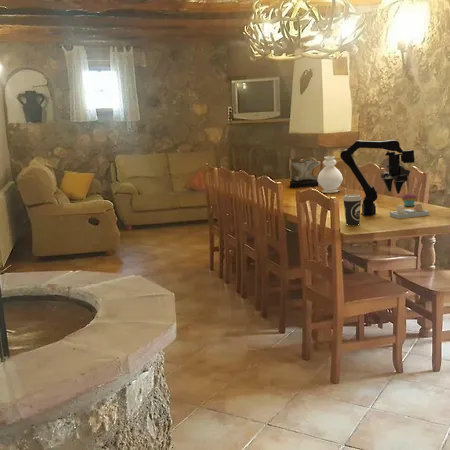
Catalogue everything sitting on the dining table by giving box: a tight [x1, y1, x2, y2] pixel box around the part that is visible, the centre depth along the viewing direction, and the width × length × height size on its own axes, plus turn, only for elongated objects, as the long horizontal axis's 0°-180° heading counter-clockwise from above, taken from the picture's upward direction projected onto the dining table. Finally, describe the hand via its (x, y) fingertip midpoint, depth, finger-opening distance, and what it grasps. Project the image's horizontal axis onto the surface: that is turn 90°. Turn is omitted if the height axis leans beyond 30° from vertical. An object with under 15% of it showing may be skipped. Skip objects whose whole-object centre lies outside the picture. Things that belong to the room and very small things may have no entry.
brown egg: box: [413, 202, 424, 212], centre depth 282 cm, size 5×5×6 cm
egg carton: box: [389, 208, 430, 219], centre depth 282 cm, size 18×8×3 cm, turn 101°
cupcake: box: [401, 186, 418, 207], centre depth 312 cm, size 9×8×12 cm
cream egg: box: [395, 204, 406, 214], centre depth 281 cm, size 5×5×6 cm
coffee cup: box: [342, 193, 363, 226], centre depth 270 cm, size 10×10×15 cm
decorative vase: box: [317, 155, 344, 194], centre depth 383 cm, size 18×18×25 cm
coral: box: [289, 159, 322, 189], centre depth 417 cm, size 25×20×22 cm
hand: (394, 192), depth 288 cm, fingers open, 9 cm apart
